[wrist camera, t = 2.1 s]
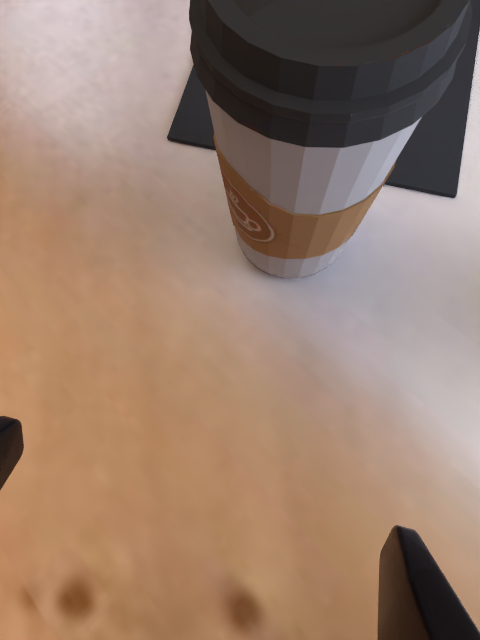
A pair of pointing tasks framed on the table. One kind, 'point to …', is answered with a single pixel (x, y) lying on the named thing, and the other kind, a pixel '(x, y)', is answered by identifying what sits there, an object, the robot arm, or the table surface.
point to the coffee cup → (316, 110)
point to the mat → (419, 151)
